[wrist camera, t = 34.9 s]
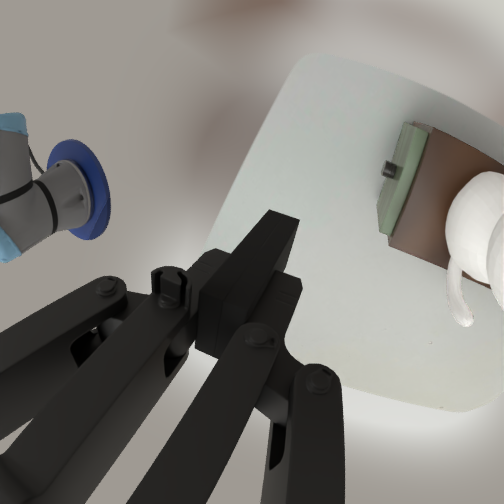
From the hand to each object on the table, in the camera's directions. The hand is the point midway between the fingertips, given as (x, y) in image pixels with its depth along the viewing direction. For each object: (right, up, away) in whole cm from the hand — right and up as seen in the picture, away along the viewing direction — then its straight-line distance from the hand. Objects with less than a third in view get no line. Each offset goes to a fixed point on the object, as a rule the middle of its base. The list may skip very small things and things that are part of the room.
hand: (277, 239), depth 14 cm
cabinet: (+22, +7, +14) cm, 27 cm away
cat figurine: (+19, +2, +7) cm, 20 cm away
